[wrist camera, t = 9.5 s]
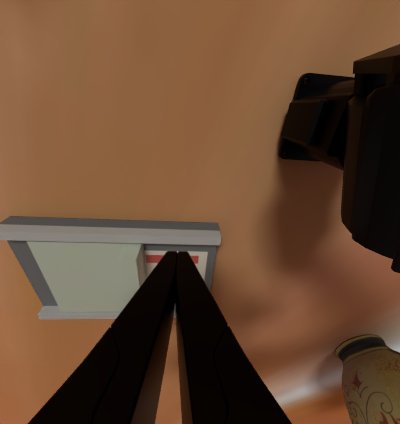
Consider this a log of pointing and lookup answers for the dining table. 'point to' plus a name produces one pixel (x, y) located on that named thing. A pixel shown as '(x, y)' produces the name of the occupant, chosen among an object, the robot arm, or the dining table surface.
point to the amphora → (370, 380)
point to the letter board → (108, 233)
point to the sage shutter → (91, 273)
